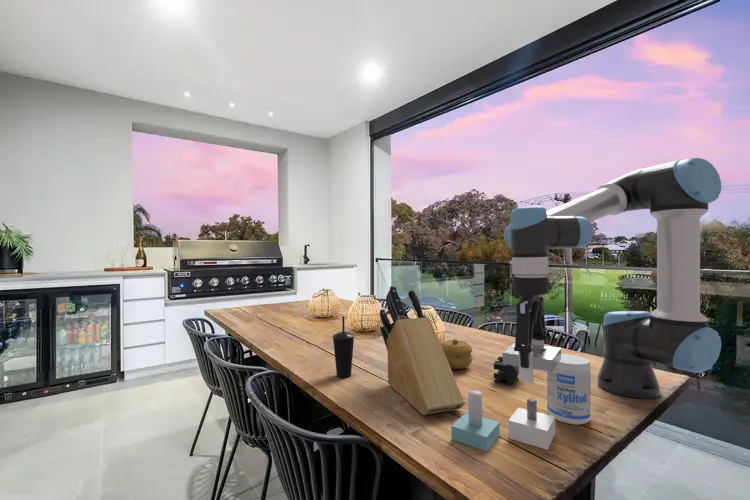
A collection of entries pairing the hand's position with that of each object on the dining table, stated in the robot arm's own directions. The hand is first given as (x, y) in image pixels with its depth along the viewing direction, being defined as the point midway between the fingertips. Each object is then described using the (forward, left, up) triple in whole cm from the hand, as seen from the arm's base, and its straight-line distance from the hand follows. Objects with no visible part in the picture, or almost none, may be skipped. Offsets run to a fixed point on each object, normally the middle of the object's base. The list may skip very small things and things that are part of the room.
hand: (532, 374), depth 80 cm
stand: (0, 0, -14) cm, 14 cm away
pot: (+34, -34, -14) cm, 50 cm away
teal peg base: (+10, +8, -14) cm, 19 cm away
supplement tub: (-5, -15, -14) cm, 21 cm away
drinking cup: (+61, -4, -14) cm, 63 cm away
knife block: (+34, -6, -14) cm, 37 cm away
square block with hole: (0, 0, +3) cm, 3 cm away
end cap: (+15, -32, -14) cm, 38 cm away
